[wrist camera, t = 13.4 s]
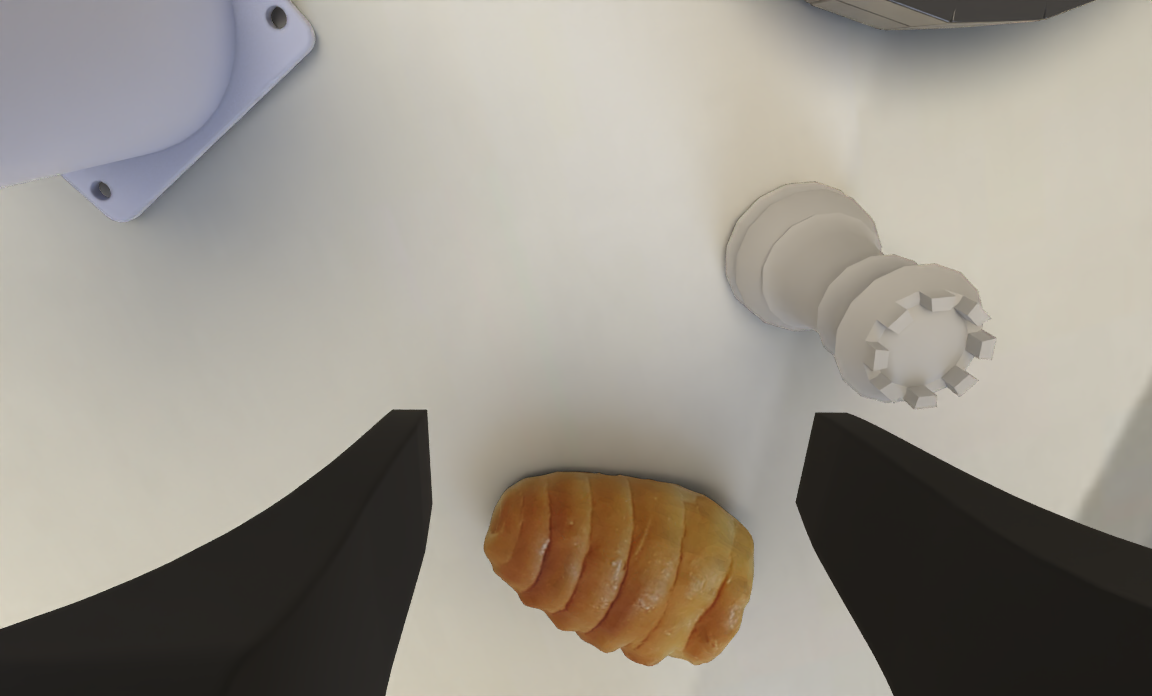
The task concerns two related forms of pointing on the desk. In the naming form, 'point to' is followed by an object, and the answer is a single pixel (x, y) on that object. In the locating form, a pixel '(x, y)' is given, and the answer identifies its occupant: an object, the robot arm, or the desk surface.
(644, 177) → the desk surface
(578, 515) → the pastry
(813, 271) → the rook chess piece
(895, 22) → the pan
